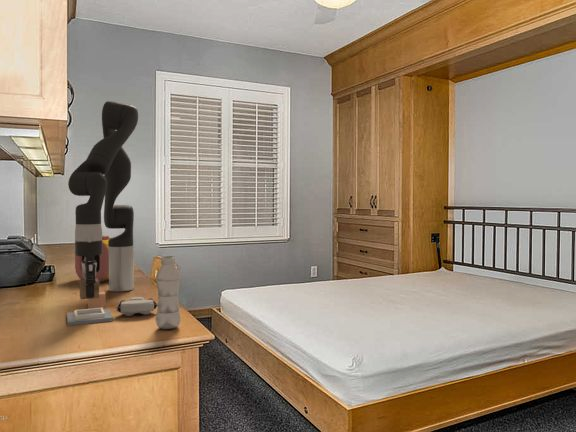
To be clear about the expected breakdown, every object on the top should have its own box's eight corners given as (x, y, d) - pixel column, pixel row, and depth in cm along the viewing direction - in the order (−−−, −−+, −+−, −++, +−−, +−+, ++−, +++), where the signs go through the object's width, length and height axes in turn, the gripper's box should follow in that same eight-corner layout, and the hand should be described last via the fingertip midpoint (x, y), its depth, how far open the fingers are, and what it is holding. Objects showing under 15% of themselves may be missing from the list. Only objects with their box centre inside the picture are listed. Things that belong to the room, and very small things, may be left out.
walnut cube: (79, 296, 140) (79, 279, 140) (97, 294, 142) (97, 278, 142) (80, 299, 136) (80, 282, 135) (99, 297, 138) (98, 281, 138)
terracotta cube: (88, 307, 153) (87, 292, 153) (104, 305, 156) (104, 291, 155) (89, 310, 149) (88, 295, 149) (105, 309, 151) (105, 293, 151)
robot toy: (117, 311, 152) (116, 319, 138) (116, 297, 152) (115, 304, 138) (155, 308, 156) (158, 316, 142) (155, 295, 156) (158, 301, 142)
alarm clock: (73, 280, 202) (72, 236, 201) (93, 276, 212) (92, 234, 211) (106, 283, 195) (105, 237, 194) (124, 279, 205) (124, 235, 204)
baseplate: (67, 315, 142) (66, 309, 142) (108, 311, 147) (108, 305, 147) (67, 325, 131) (67, 318, 131) (112, 320, 137) (112, 314, 137)
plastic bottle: (158, 325, 132) (157, 255, 131) (182, 324, 132) (182, 255, 132) (153, 331, 126) (152, 258, 125) (178, 331, 126) (178, 258, 125)
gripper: (74, 237, 143) (74, 292, 144) (75, 241, 130) (76, 301, 131) (100, 237, 146) (100, 290, 147) (104, 240, 134) (105, 299, 134)
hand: (89, 295), depth 139 cm, fingers closed on walnut cube, 5 cm apart
